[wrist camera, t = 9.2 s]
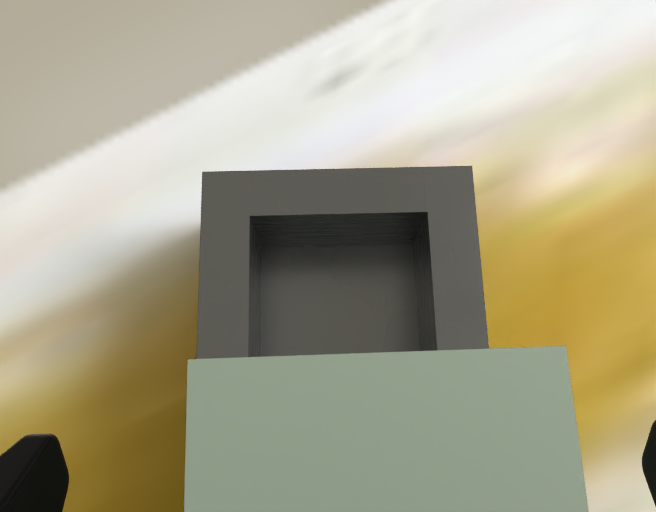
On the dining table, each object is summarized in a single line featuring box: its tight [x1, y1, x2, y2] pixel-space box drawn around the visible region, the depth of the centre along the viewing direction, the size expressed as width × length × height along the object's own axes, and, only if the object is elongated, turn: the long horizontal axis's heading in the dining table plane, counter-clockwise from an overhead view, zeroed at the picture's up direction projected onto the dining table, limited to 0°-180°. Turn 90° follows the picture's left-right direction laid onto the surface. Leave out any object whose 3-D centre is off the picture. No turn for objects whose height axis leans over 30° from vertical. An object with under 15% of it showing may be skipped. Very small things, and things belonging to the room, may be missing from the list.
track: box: [196, 166, 489, 359], centre depth 15 cm, size 16×7×4 cm, turn 1°
